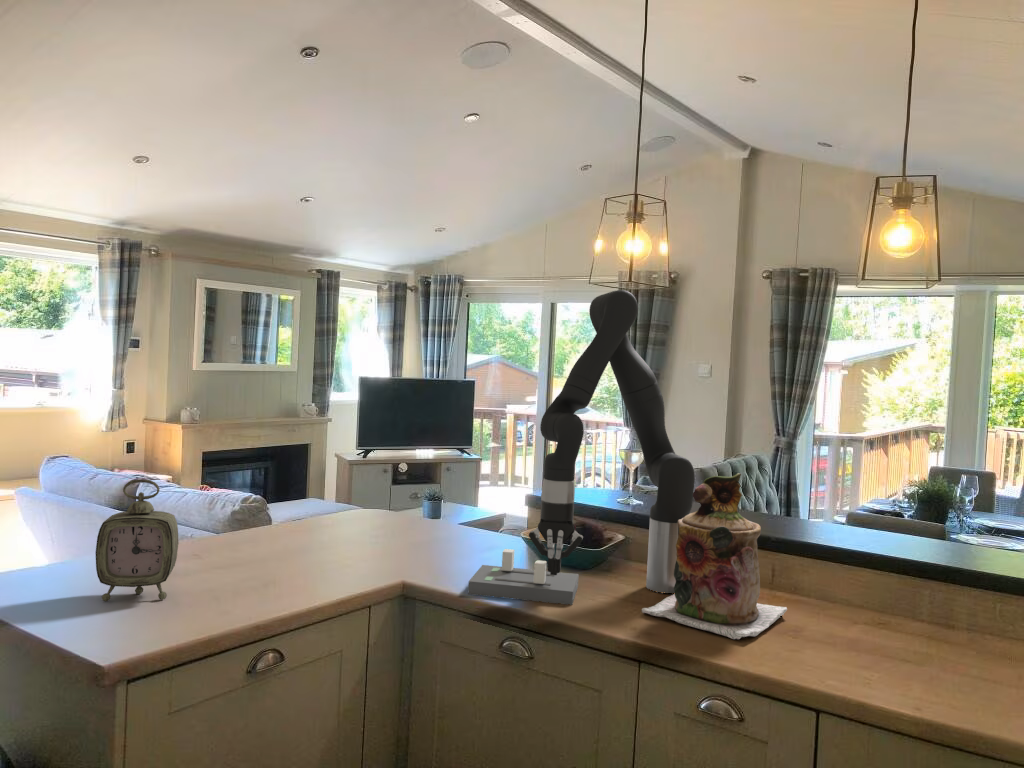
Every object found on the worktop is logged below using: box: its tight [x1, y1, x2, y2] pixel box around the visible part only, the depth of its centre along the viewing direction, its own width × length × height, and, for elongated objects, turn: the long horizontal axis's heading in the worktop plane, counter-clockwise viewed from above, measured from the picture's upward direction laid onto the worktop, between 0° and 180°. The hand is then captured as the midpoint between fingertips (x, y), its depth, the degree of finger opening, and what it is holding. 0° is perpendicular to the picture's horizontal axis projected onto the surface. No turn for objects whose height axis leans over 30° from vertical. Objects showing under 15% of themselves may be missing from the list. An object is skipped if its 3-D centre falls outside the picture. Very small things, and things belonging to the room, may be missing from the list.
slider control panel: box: [467, 564, 580, 606], centre depth 176 cm, size 24×15×3 cm, turn 80°
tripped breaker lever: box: [533, 559, 548, 584], centre depth 171 cm, size 2×3×4 cm
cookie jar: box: [641, 472, 788, 640], centre depth 164 cm, size 25×25×32 cm
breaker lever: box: [501, 548, 515, 571], centre depth 181 cm, size 2×3×4 cm
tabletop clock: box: [95, 478, 180, 602], centre depth 157 cm, size 14×9×25 cm, turn 105°
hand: (553, 574), depth 171 cm, fingers closed
